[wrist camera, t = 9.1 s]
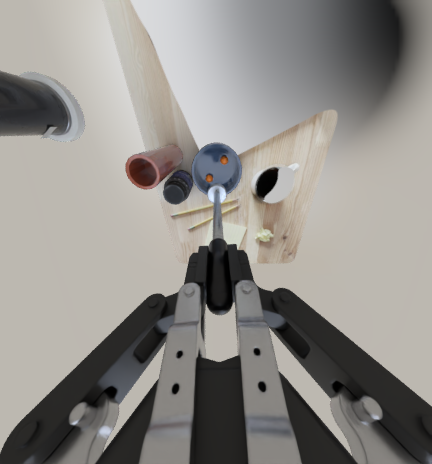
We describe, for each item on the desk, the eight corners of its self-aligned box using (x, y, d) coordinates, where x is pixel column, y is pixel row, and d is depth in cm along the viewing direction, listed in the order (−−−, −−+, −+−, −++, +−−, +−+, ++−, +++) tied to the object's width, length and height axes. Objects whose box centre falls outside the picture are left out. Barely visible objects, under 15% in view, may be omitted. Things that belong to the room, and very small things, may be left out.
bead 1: (206, 181, 43) (205, 183, 41) (205, 174, 42) (204, 176, 40) (213, 181, 43) (213, 183, 41) (212, 173, 42) (212, 175, 40)
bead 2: (220, 164, 41) (220, 165, 39) (220, 155, 40) (220, 156, 38) (228, 163, 41) (228, 164, 39) (227, 155, 40) (228, 156, 38)
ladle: (208, 201, 26) (196, 327, 9) (206, 184, 24) (188, 298, 8) (226, 200, 26) (246, 325, 9) (225, 182, 24) (248, 295, 8)
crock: (166, 166, 42) (132, 190, 25) (161, 145, 39) (119, 156, 22) (184, 165, 41) (163, 188, 25) (180, 143, 39) (154, 153, 22)
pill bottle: (171, 167, 42) (159, 178, 32) (194, 172, 42) (188, 183, 33) (171, 190, 45) (160, 205, 36) (192, 193, 46) (186, 209, 36)
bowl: (197, 192, 45) (195, 198, 41) (190, 144, 39) (187, 146, 35) (238, 189, 45) (241, 195, 41) (239, 140, 38) (242, 141, 34)
